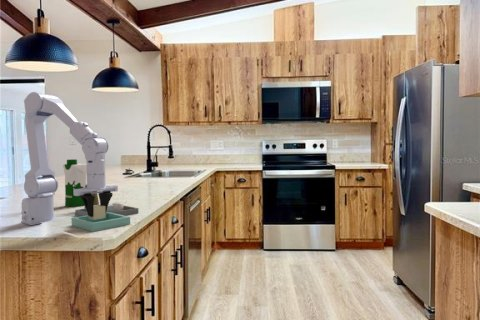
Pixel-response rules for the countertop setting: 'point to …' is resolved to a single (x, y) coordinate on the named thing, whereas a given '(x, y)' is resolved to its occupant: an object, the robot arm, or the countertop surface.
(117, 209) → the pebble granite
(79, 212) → the tray
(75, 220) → the dish
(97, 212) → the tan rectangular block
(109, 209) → the light gray rectangular block
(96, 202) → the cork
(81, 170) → the milk carton
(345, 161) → the countertop surface
